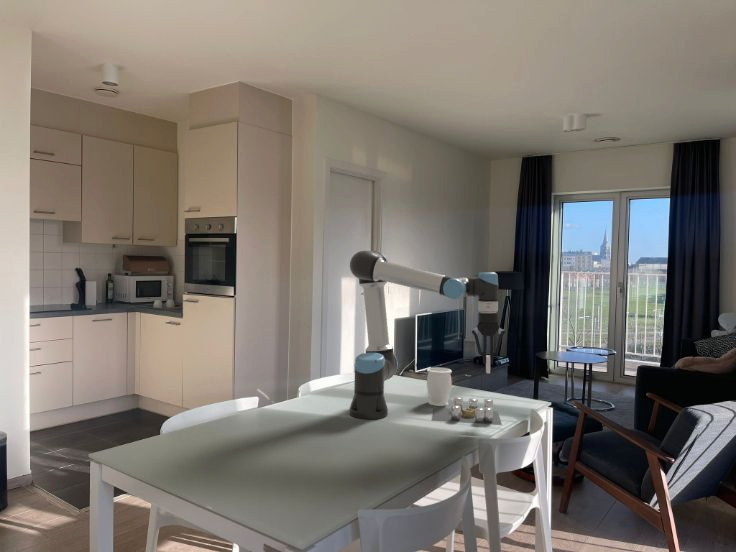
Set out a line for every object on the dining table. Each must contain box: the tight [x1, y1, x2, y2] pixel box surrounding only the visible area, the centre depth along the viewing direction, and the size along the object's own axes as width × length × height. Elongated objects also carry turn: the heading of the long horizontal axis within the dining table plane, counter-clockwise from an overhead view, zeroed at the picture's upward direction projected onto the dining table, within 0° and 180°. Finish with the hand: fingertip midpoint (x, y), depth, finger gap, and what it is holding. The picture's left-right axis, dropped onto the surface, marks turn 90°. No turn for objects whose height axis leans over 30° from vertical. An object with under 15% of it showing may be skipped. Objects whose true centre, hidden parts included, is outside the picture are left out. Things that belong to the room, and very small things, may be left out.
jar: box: [426, 367, 453, 407], centre depth 242 cm, size 11×10×15 cm
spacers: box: [450, 396, 494, 424], centre depth 223 cm, size 17×19×5 cm
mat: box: [431, 406, 503, 426], centre depth 224 cm, size 26×19×1 cm
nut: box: [462, 407, 475, 418], centre depth 223 cm, size 4×5×2 cm
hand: (488, 372), depth 222 cm, fingers closed
